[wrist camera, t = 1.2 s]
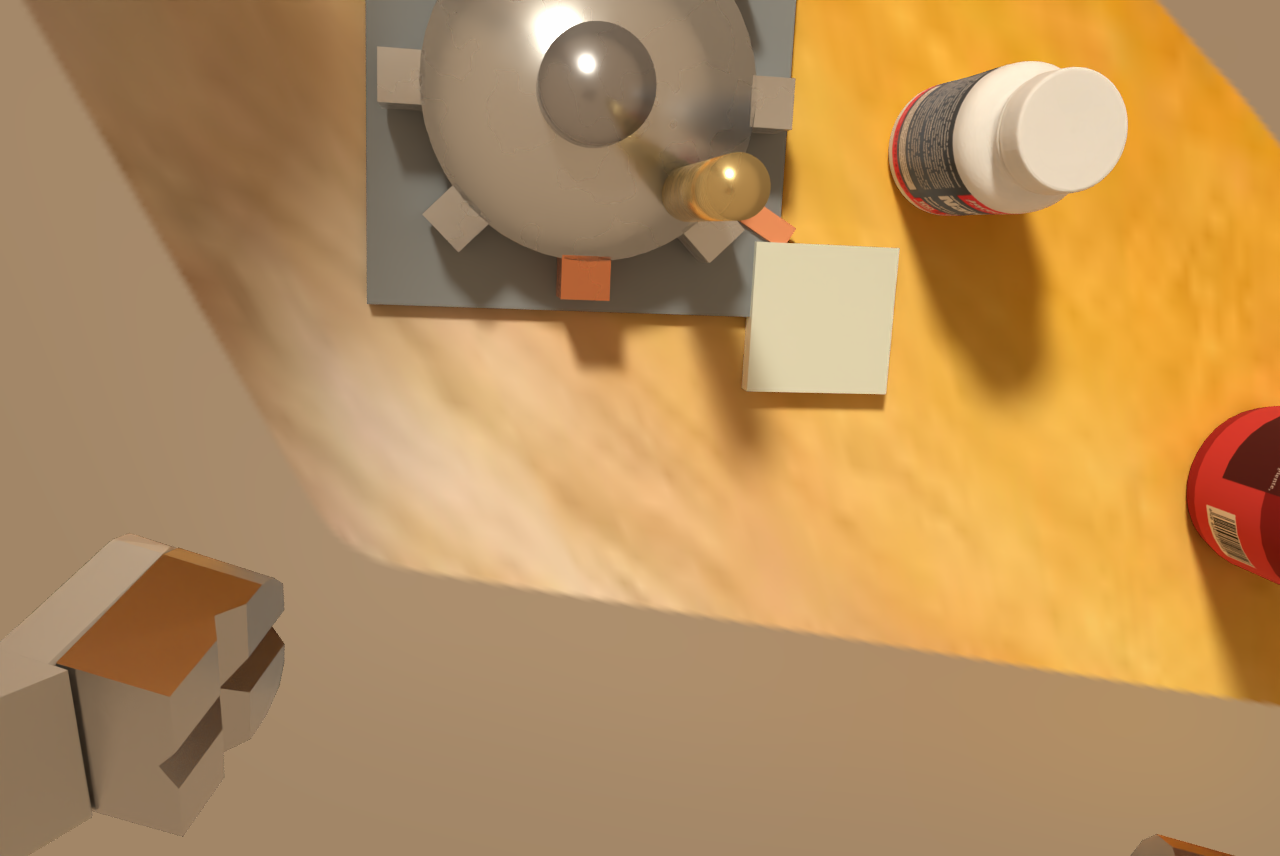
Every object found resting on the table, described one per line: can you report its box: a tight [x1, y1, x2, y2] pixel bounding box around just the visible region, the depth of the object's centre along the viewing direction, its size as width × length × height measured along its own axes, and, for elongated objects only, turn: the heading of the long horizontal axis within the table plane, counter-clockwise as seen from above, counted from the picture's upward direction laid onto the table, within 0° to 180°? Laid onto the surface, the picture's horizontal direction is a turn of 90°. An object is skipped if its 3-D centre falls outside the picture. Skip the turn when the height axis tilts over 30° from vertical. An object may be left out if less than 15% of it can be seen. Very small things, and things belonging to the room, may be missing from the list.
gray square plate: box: [366, 0, 796, 317], centre depth 38 cm, size 16×17×1 cm
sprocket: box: [377, 0, 795, 301], centre depth 33 cm, size 15×15×9 cm
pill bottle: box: [889, 61, 1128, 216], centre depth 37 cm, size 5×5×9 cm
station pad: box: [742, 241, 900, 394], centre depth 41 cm, size 6×6×1 cm
